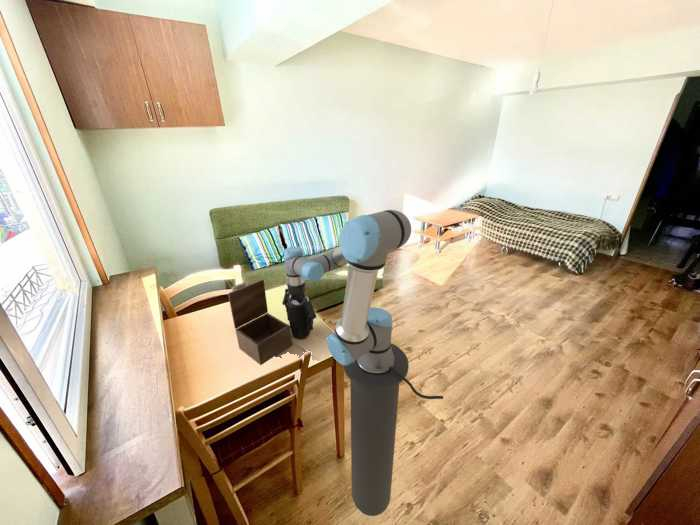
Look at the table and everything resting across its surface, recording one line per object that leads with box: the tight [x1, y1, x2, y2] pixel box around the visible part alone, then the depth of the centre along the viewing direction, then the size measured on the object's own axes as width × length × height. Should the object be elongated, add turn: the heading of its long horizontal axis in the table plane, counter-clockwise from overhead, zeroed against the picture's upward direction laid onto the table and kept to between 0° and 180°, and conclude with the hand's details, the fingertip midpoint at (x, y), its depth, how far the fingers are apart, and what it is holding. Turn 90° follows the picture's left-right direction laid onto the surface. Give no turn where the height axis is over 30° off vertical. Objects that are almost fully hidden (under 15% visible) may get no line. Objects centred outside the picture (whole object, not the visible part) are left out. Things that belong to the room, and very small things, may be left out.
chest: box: [234, 312, 293, 366], centre depth 119 cm, size 16×16×10 cm
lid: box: [227, 278, 269, 330], centre depth 120 cm, size 17×16×8 cm
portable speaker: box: [288, 298, 311, 340], centre depth 123 cm, size 9×9×20 cm
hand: (300, 324), depth 126 cm, fingers open, 13 cm apart
